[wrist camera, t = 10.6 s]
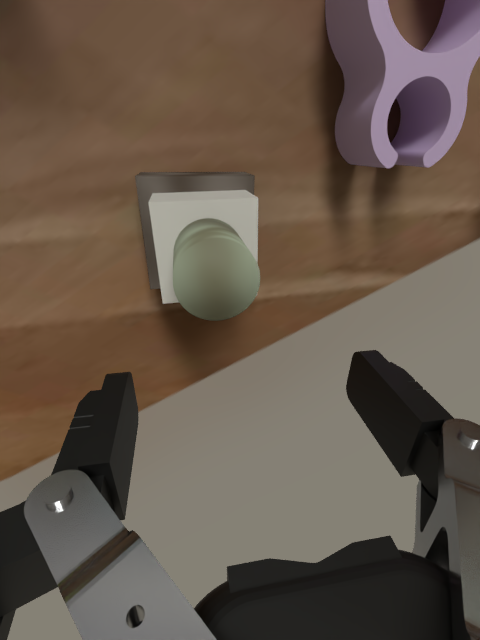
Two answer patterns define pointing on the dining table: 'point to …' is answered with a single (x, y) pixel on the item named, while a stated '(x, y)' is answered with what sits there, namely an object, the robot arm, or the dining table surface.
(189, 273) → the sage cylinder
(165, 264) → the top block
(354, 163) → the clip
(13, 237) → the dining table surface
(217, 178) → the base block
